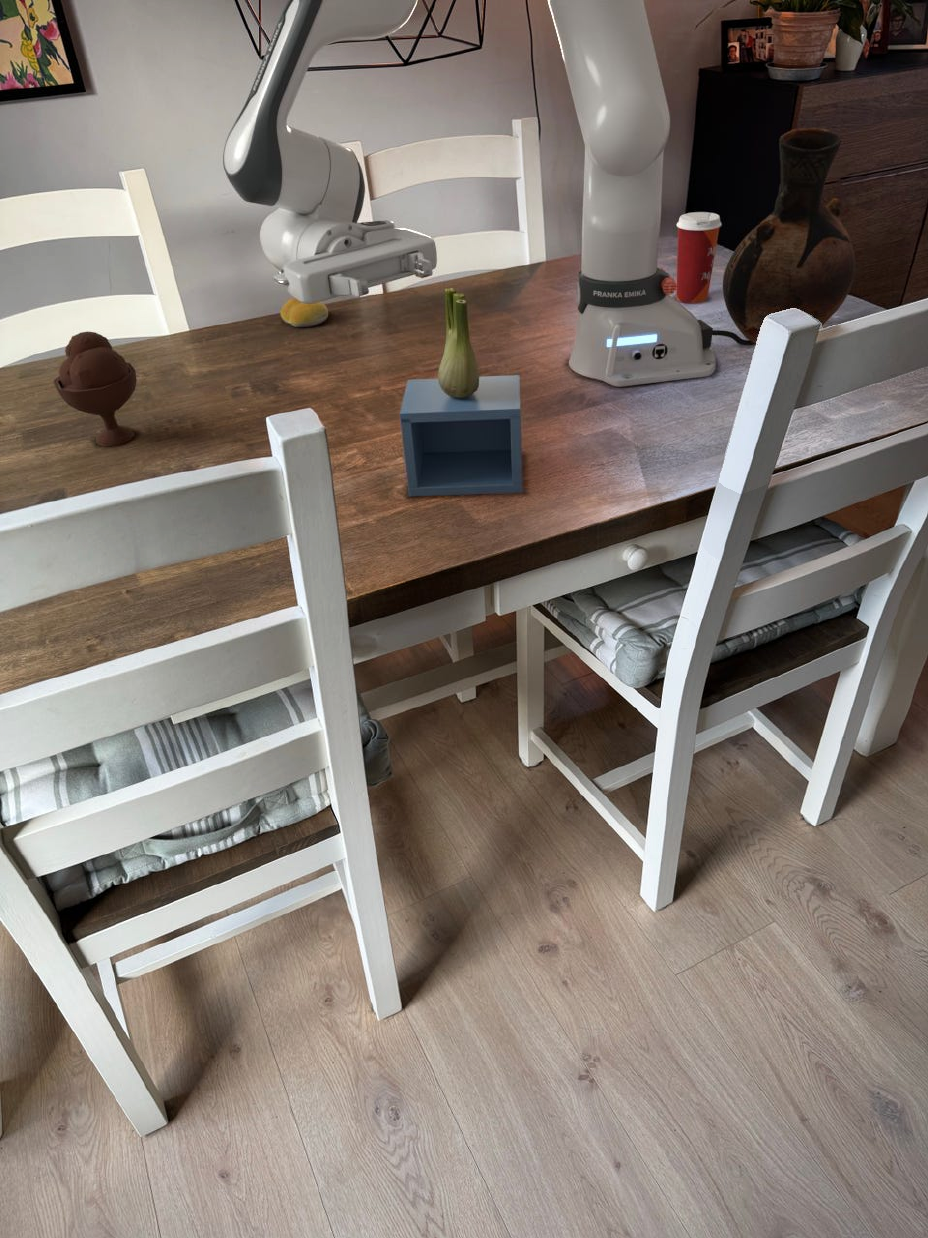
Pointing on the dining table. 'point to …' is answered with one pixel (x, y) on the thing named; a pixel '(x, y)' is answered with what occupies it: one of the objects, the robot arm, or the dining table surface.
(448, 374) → the fennel bulb
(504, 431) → the box
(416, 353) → the dining table surface
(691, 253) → the paper cup
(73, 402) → the ice cream bowl
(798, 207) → the ceramic vessel
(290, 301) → the bread roll
